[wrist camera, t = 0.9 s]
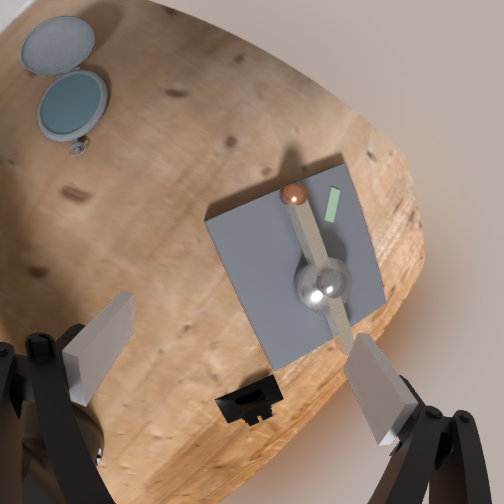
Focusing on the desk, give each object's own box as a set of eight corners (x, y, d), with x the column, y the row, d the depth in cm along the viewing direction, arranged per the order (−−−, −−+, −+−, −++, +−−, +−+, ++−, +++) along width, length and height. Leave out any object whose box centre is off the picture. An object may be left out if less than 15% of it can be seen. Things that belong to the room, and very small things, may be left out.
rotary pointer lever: (318, 355, 39) (335, 370, 35) (256, 197, 34) (270, 195, 29) (357, 330, 40) (376, 342, 36) (306, 176, 35) (325, 172, 31)
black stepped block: (220, 427, 40) (226, 446, 36) (201, 396, 38) (206, 414, 34) (292, 396, 42) (304, 411, 38) (279, 362, 41) (291, 377, 37)
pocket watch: (88, 2, 18) (97, 115, 21) (103, 48, 28) (117, 143, 31) (7, 38, 15) (5, 156, 18) (38, 74, 26) (46, 170, 29)
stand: (270, 364, 40) (275, 372, 38) (203, 221, 35) (205, 221, 33) (378, 299, 44) (387, 303, 42) (337, 165, 39) (345, 163, 37)
